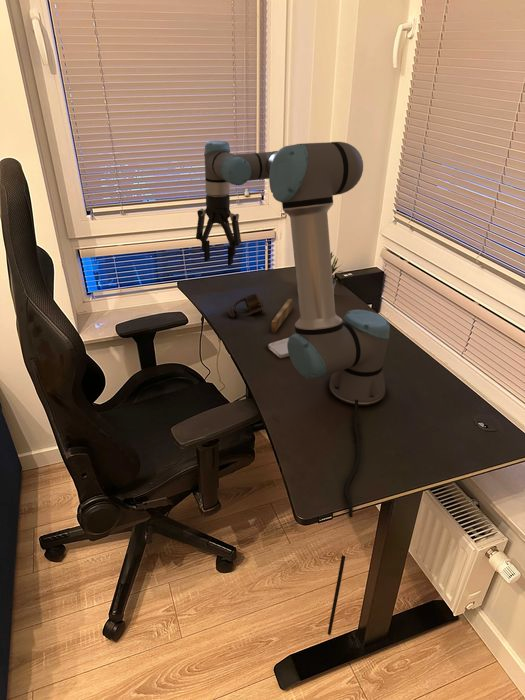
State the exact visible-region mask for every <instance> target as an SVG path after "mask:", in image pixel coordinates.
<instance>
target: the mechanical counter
mask: <svg viewBox="0 0 525 700" xmlns="http://www.w3.org/2000/svg"><path fill="white" fill-rule="evenodd" d="M241 302H244V303H245V306H246V308H247V311H248V312H246V313H243V312H242V313H241V312H238V310H236V307H237V305H238V304H240V303H241ZM226 312H227V315H228V316H229V317H231V318H235V317H236V315H237V316H239V317H246V316H251V315H254V314H256V313H259V312H261V314H262V315H264V314H265V313H264V304H263V301H262V298H261V296H260V295H259V294H258V293H257V292H255V293H252V294H249V295H247V296H245V297H243V298H240V299H239V300H237V301H236V302H235V303H234V305H233V307H231V306H228V307H227V309H226Z"/></svg>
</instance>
